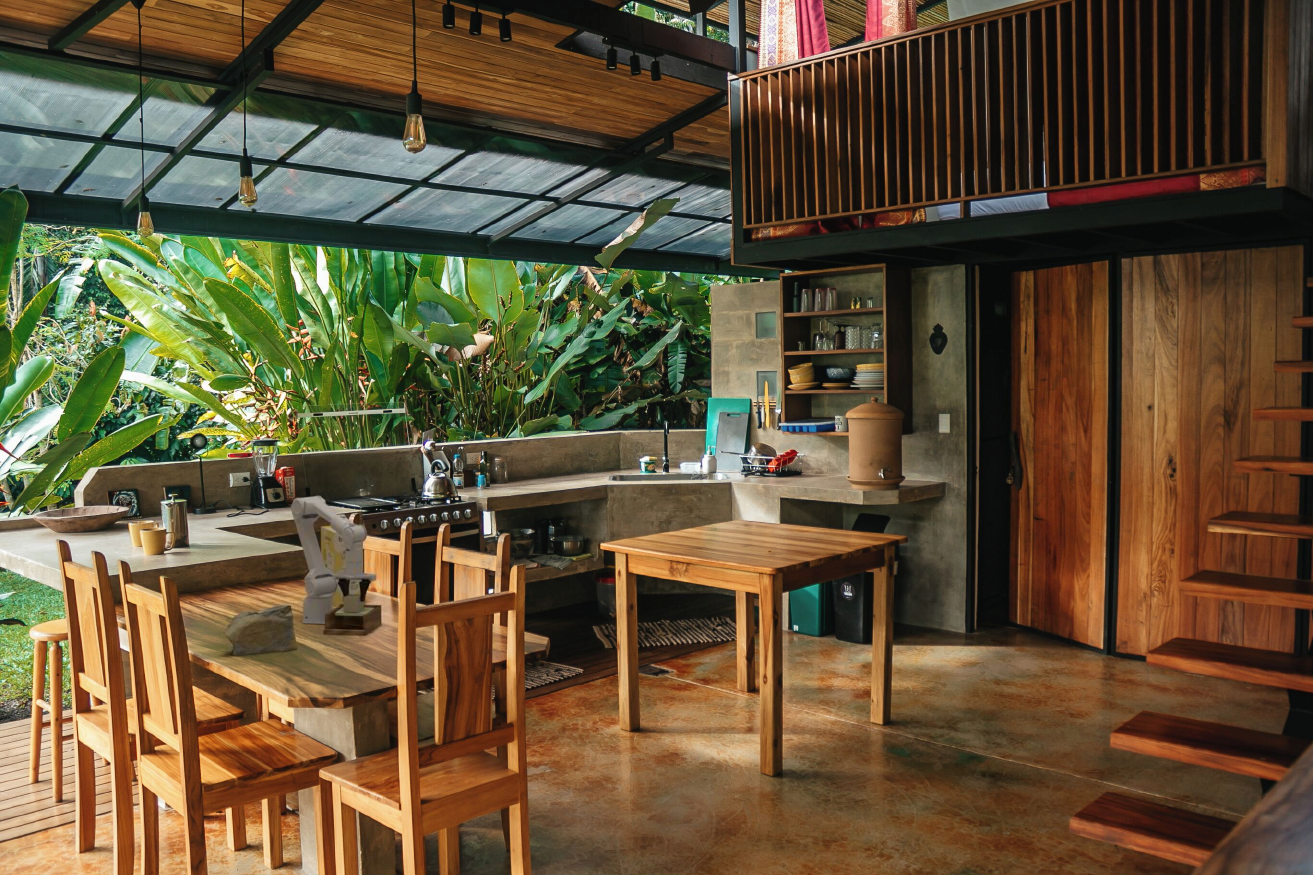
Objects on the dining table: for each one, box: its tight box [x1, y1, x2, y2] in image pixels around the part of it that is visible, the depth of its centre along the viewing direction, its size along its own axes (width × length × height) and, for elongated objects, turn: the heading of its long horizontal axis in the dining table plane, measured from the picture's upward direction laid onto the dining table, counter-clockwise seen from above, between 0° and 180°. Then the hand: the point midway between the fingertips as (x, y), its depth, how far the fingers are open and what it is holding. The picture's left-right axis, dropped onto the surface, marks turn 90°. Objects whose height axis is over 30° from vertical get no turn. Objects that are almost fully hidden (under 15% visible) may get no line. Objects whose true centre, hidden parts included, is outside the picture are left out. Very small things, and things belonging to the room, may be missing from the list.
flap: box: [335, 607, 374, 616], centre depth 329 cm, size 11×7×1 cm, turn 85°
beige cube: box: [344, 594, 365, 612], centre depth 328 cm, size 5×5×5 cm
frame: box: [322, 604, 382, 637], centre depth 327 cm, size 14×14×7 cm
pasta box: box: [320, 525, 362, 608], centre depth 370 cm, size 18×10×28 cm, turn 34°
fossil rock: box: [223, 604, 298, 657], centre depth 301 cm, size 20×10×15 cm, turn 114°
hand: (354, 601), depth 328 cm, fingers closed on beige cube, 5 cm apart
